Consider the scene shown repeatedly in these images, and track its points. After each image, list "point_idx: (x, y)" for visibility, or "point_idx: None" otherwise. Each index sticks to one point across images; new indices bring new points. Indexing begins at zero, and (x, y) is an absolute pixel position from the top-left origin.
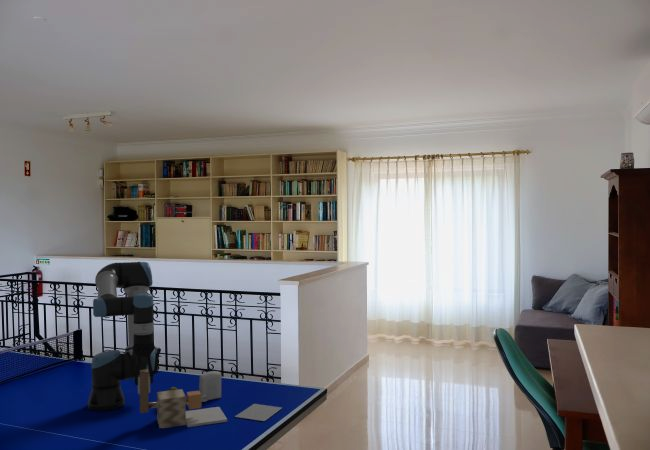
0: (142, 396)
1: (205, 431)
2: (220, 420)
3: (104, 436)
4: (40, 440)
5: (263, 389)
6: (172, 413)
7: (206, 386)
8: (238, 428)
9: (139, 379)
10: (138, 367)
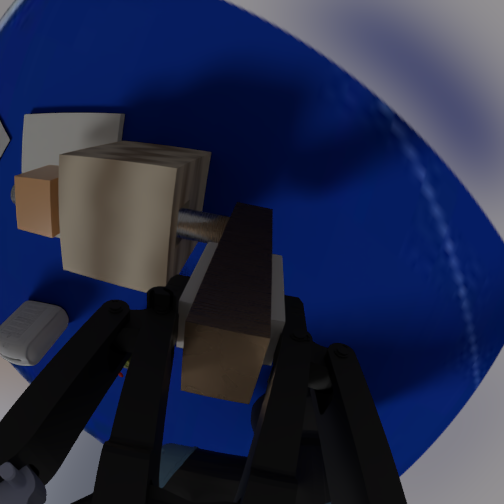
0: (259, 234)
1: (93, 57)
2: (38, 114)
3: (395, 197)
4: (499, 274)
5: None
6: (146, 150)
7: (31, 326)
8: (28, 54)
9: (273, 308)
10: (280, 395)
